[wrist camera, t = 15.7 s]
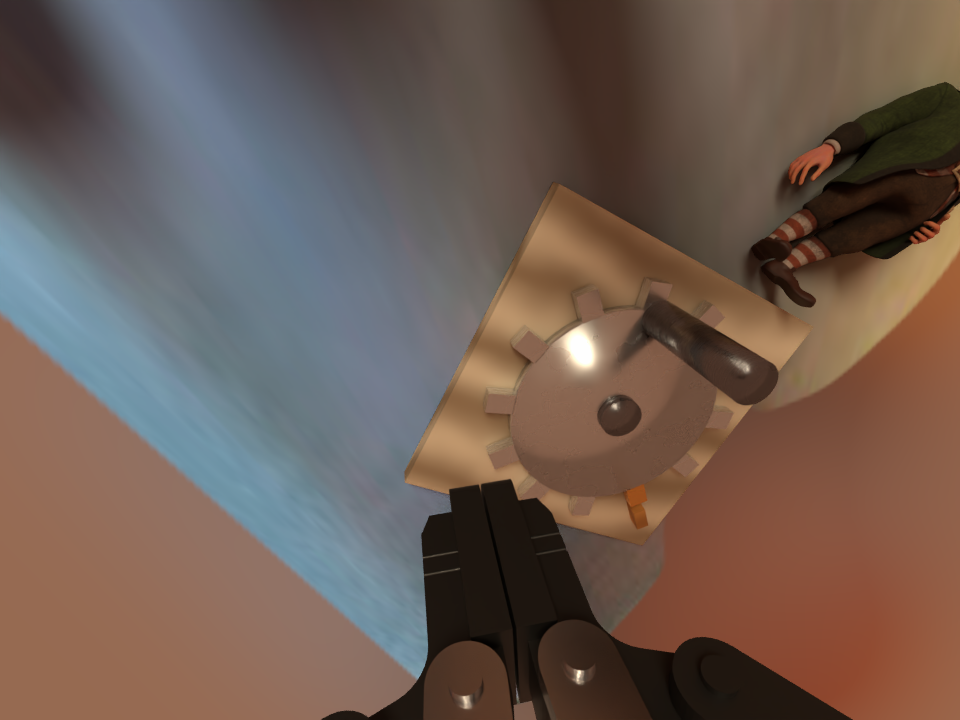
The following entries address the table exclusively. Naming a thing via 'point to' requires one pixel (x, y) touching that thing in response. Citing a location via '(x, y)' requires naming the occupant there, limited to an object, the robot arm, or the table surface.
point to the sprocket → (621, 395)
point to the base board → (549, 306)
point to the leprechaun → (874, 187)
